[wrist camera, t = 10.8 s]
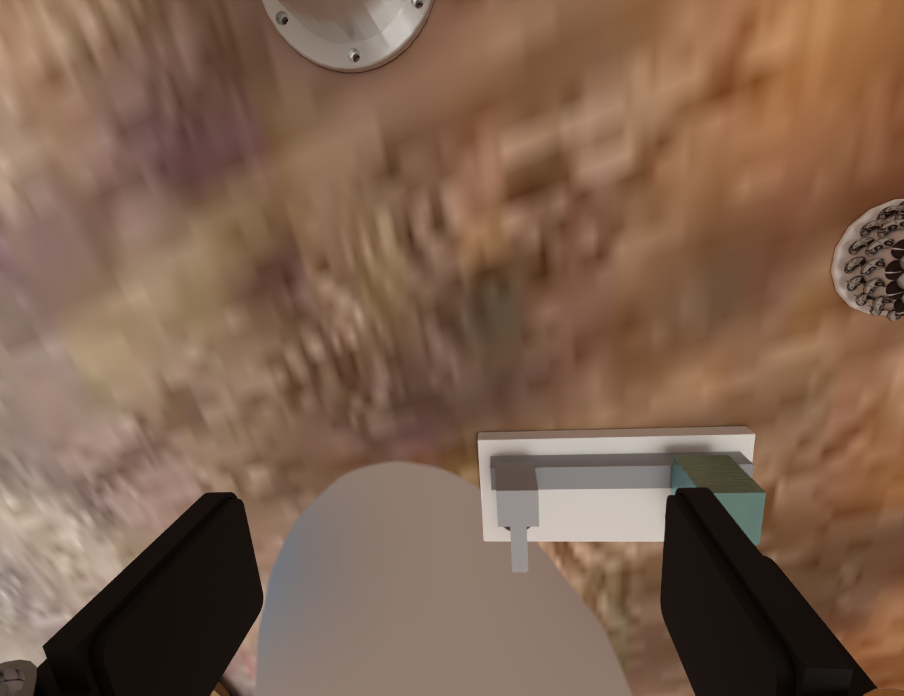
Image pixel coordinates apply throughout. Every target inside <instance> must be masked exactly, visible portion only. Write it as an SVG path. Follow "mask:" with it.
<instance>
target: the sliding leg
mask: <svg viewBox="0 0 904 696" xmlns="http://www.w3.org/2000/svg"><path fill="white" fill-rule="evenodd" d="M689 487H706V488H709V489H710V490H711V491H712V492H713V494H714V495H715V496H716V497H717V499H718V500H719V501H720V502H721V504H722V505H723V506H724V507H725V509H726V510H727V511H728V513H729V514H730V515H731V516H732V518H733V519H734V520H735V521H736V523H737V524H738V525H739V526H740V528H741V529H742V530H743V531H744V533H745V534H746V535H747V536H748V538H749V539H750V540H751V541H752V543H753V544H754V545H759V544H760V536H761V528H762V520H763V512H764V504H765V496H766V492H765V491H764V490H763V489H762V488H761V487H760V486H759V485H758V484H757V483H756V482H755V481H754V480H753V479H752V478H751V477H750V476H749V475H748V474H747V473H746V472H745V471H744V470H743V469H742V468H741V467H740V466H739V465H738V464H737V463H736V462H735V461H734V460H733V459H732V458H731V457H730V456H729V455H691V456H673V465H672V481H671V495H675V492H676V489H677V488H689Z"/></svg>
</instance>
